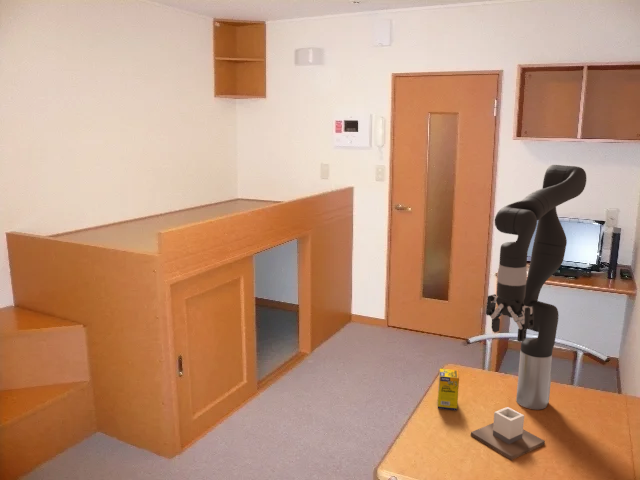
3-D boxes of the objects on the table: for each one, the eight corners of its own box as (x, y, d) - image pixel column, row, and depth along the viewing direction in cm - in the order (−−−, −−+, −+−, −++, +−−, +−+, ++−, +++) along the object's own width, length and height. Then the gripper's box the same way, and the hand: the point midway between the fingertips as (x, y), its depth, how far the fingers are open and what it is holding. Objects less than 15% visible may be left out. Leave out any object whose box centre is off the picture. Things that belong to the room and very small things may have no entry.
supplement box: (457, 411, 171) (459, 378, 169) (437, 409, 172) (439, 376, 170) (456, 401, 177) (458, 369, 175) (437, 400, 178) (439, 368, 176)
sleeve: (505, 429, 159) (507, 406, 158) (522, 438, 155) (524, 415, 153) (492, 434, 156) (494, 412, 155) (509, 444, 152) (511, 420, 150)
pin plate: (503, 421, 165) (505, 401, 164) (544, 444, 154) (546, 422, 152) (470, 435, 158) (472, 414, 157) (511, 460, 146) (513, 437, 145)
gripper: (543, 284, 149) (538, 341, 152) (499, 272, 160) (496, 325, 164) (525, 289, 145) (520, 347, 148) (482, 276, 156) (479, 331, 160)
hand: (508, 336), depth 156 cm, fingers open, 8 cm apart
